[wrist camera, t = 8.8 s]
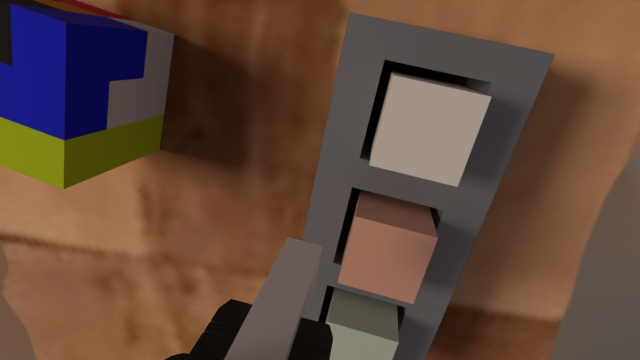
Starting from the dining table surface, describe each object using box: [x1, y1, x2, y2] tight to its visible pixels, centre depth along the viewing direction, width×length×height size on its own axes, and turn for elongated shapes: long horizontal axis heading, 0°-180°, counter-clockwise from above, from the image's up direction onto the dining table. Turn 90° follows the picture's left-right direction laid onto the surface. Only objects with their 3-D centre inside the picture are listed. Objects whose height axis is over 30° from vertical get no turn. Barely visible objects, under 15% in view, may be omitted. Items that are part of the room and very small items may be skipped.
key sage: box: [325, 287, 399, 360], centre depth 27 cm, size 5×5×8 cm
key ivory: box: [369, 70, 491, 187], centre depth 21 cm, size 5×5×8 cm
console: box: [302, 13, 555, 360], centre depth 26 cm, size 26×11×6 cm, turn 169°
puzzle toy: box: [0, 0, 174, 189], centre depth 25 cm, size 10×10×10 cm
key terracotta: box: [338, 189, 438, 304], centre depth 24 cm, size 5×5×8 cm
